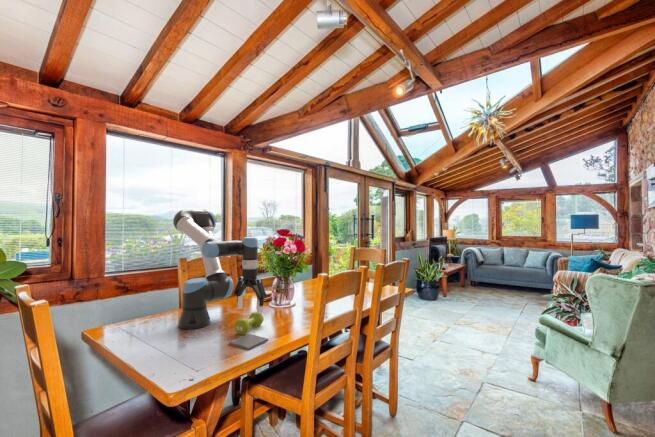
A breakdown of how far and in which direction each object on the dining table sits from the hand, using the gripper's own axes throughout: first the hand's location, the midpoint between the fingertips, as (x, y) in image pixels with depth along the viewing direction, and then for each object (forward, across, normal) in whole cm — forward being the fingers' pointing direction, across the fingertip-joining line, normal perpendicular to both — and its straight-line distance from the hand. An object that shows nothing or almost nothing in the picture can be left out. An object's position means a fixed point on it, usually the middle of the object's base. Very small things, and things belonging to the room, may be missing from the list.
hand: (249, 310), depth 157 cm
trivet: (+10, +11, -12) cm, 19 cm away
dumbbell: (+10, 0, 0) cm, 10 cm away
